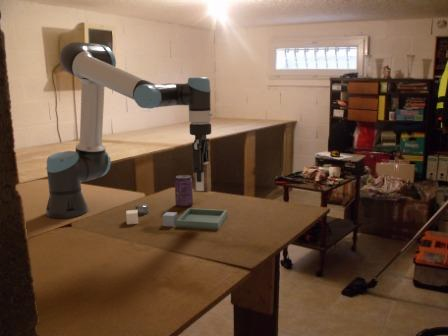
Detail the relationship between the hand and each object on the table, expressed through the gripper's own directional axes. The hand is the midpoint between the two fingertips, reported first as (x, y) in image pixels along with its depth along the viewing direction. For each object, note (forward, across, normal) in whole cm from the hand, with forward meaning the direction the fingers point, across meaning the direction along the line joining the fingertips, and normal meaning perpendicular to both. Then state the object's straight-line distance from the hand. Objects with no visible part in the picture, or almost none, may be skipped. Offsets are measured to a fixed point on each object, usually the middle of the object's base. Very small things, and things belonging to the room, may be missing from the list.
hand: (202, 188), depth 154 cm
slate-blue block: (+12, -5, +11) cm, 17 cm away
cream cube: (+12, -5, +25) cm, 28 cm away
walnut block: (+1, 0, 0) cm, 1 cm away
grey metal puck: (+12, +6, +26) cm, 30 cm away
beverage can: (+12, +19, +13) cm, 26 cm away
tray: (+12, 0, 0) cm, 12 cm away
